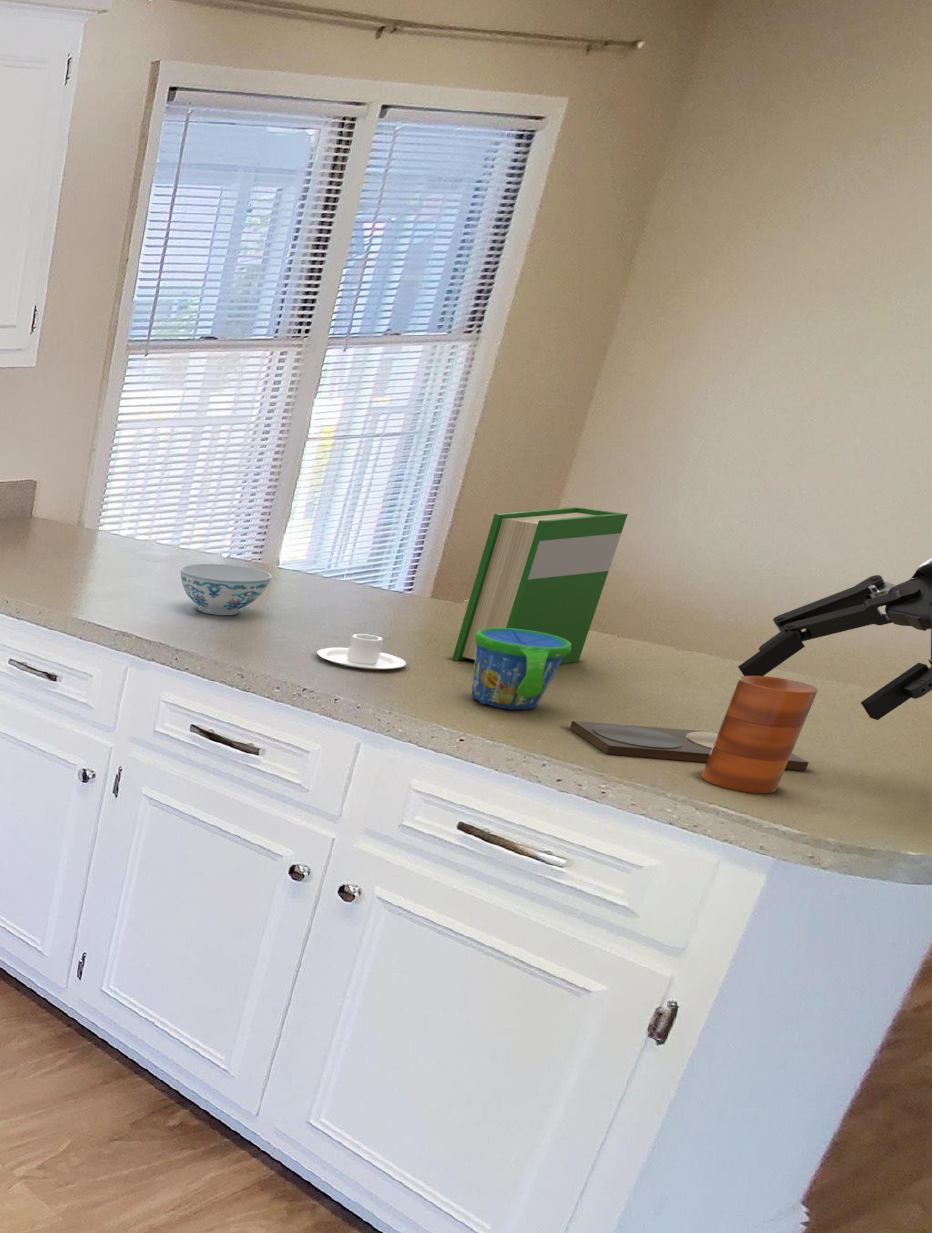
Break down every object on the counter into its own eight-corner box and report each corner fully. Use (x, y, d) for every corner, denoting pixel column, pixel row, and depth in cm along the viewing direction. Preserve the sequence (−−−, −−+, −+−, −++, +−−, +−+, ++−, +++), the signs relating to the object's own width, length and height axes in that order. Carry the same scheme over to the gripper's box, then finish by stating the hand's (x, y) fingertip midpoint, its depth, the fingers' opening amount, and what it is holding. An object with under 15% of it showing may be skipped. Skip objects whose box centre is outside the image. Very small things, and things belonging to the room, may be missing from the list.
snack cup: (561, 725, 155) (585, 655, 152) (466, 713, 160) (487, 645, 157) (537, 693, 168) (558, 628, 164) (450, 683, 173) (468, 620, 169)
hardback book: (499, 671, 178) (545, 521, 169) (452, 659, 185) (494, 513, 176) (578, 661, 182) (627, 514, 174) (529, 649, 189) (574, 506, 180)
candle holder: (316, 665, 183) (322, 640, 181) (316, 648, 192) (322, 623, 190) (406, 677, 176) (414, 650, 175) (402, 658, 186) (409, 633, 184)
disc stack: (789, 796, 132) (832, 694, 128) (720, 790, 134) (760, 689, 130) (754, 776, 138) (795, 678, 133) (689, 770, 140) (727, 673, 135)
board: (805, 771, 139) (809, 761, 139) (606, 754, 145) (609, 744, 145) (754, 743, 148) (758, 734, 147) (569, 728, 154) (572, 719, 154)
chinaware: (246, 603, 221) (255, 564, 218) (275, 622, 208) (284, 581, 205) (164, 600, 224) (171, 562, 222) (186, 619, 211) (194, 579, 208)
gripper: (1148, 614, 116) (941, 751, 121) (876, 564, 139) (713, 680, 145) (1123, 565, 114) (914, 706, 119) (851, 522, 137) (687, 642, 143)
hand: (804, 692), depth 132 cm, fingers open, 13 cm apart
